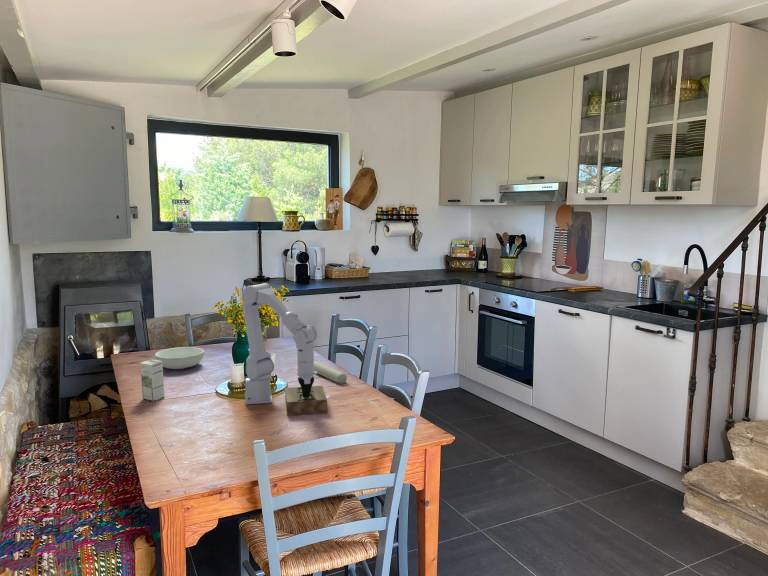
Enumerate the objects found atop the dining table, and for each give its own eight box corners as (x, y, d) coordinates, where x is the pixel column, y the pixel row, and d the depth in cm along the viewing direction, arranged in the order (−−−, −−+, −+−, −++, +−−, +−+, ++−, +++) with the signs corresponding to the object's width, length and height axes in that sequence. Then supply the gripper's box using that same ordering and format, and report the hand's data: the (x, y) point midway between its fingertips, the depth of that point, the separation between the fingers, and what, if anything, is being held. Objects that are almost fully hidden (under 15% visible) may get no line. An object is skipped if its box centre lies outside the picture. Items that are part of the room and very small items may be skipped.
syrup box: (165, 397, 221) (163, 360, 219) (153, 402, 216) (150, 364, 214) (154, 395, 224) (152, 358, 222) (141, 399, 219) (139, 362, 216)
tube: (350, 374, 239) (319, 360, 259) (340, 372, 236) (309, 358, 256) (347, 386, 239) (316, 371, 259) (336, 385, 236) (306, 370, 255)
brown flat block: (287, 415, 203) (286, 401, 202) (285, 400, 218) (285, 387, 217) (327, 413, 205) (326, 398, 205) (322, 398, 221) (322, 384, 220)
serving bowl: (214, 364, 266) (213, 350, 265) (176, 376, 248) (175, 360, 247) (184, 358, 277) (183, 344, 276) (145, 368, 259) (144, 353, 258)
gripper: (318, 365, 199) (319, 403, 201) (315, 354, 213) (315, 390, 215) (298, 366, 197) (298, 404, 199) (295, 355, 212) (296, 391, 214)
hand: (306, 397), depth 207 cm, fingers closed, pressing on steel peg
